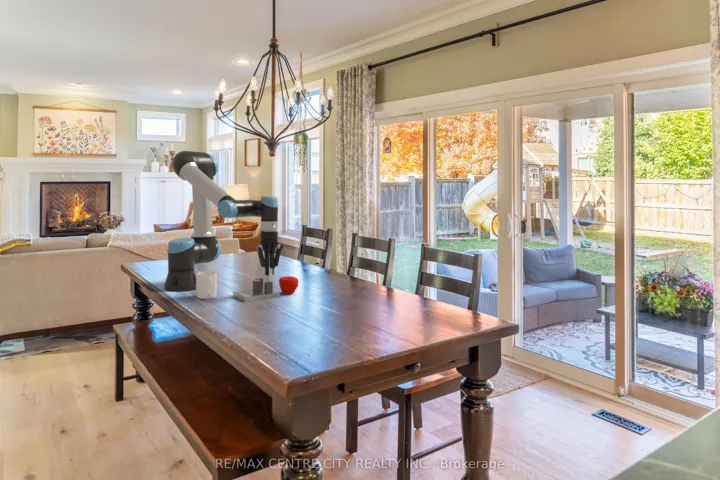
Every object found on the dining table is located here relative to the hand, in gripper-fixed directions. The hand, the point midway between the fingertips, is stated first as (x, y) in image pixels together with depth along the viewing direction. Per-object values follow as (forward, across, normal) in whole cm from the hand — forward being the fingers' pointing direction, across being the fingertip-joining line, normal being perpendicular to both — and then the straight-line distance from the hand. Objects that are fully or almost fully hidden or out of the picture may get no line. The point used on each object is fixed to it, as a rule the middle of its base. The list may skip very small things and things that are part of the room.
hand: (269, 282), depth 221 cm
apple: (+6, +10, -1) cm, 11 cm away
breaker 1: (+4, -3, +5) cm, 7 cm away
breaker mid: (+4, -6, 0) cm, 7 cm away
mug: (+6, -25, +9) cm, 28 cm away
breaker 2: (+4, -3, -4) cm, 6 cm away
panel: (+6, -6, 0) cm, 9 cm away
